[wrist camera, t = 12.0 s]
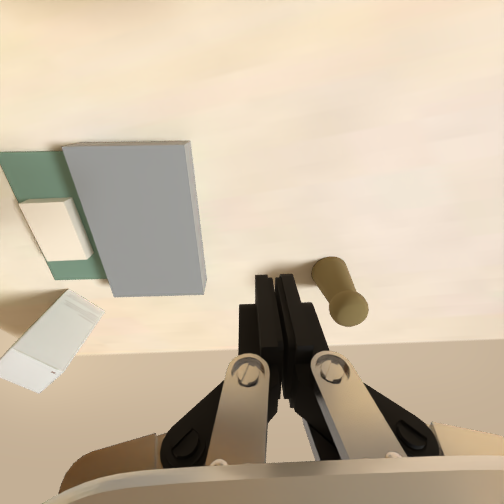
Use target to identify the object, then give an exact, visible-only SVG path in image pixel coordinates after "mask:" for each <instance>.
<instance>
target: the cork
mask: <svg viewBox="0 0 504 504" xmlns="http://www.w3.org/2000/svg"><path fill="white" fill-rule="evenodd" d="M311 274H312V278H313V280H314V281H315V283H316V284H317V286H318V287H319V289H320V290H321V292H322V293H323V295H324V296H325V298H326V299H327V301H328V302H329V311H330V315H331V317H332V318H333V320H334V321H335V322H336V323H338V324H340V325H342V326H346V327H351V326H355V325H358V324H360V323H361V322H363V321H364V320H365V318H366V317H367V314H368V311H369V310H368V303H367V302H366V300H365V298H364V297H363V296H362V295H361V294H359V293H358V292H356V289H355V287H354V284H353V282H352V279H351V276H350V274H349V271H348V269H347V266H346V264H345V262H344V261H343V260H342V259H340V258H337V257H326V258H323V259H321V260H320V261H318V262H317V263H316V264H315V265H314V267H313V269H312V273H311Z"/></svg>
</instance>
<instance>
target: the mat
mask: <svg viewBox="0 0 504 504" xmlns="http://www.w3.org/2000/svg"><path fill="white" fill-rule="evenodd" d="M0 165H1V167H2V169H3V171H4V173H5V175H6V177H7V179H8V182H9V184H10V186H11V188H12V190H13V192H14V194H15V196H16V198H17V201H18V203H21V202H24V201H26V200H28V199H44V198H67V197H72V198H73V201H74V203H75V206H76V208H77V211H78V213H79V216H80V219H81V221H82V224H83V226H84V229H85V231H86V234H87V236H88V239H89V242H90V244H91V247H92V249H93V252H94V253H93V254H92V255H91V256H90V257H89V258H88V259H87V260H66V261H47V260H46V258H45V256H44V258H45V260H46V262H47V264H48V266H49V268H50V270H51V272H52V274H53V277H54V279H55V280H76V279H107V276H106V273H105V270H104V267H103V264H102V261H101V259H100V256H99V253H98V250H97V247H96V244H95V241H94V238H93V236H92V233H91V230H90V227H89V224H88V221H87V218H86V216H85V213H84V210H83V207H82V204H81V201H80V198H79V196H78V193H77V190H76V187H75V184H74V181H73V178H72V176H71V173H70V170H69V167H68V164H67V161H66V158H65V156H64V153H63V151H37V152H0ZM35 239H36V238H35ZM36 241H37V240H36ZM37 243H38V242H37ZM38 245H39V244H38ZM39 247H40V246H39ZM40 249H41V248H40ZM41 251H42V250H41ZM42 253H43V252H42ZM43 255H44V254H43Z"/></svg>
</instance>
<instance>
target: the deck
mask: <svg viewBox="0 0 504 504" xmlns="http://www.w3.org/2000/svg"><path fill="white" fill-rule="evenodd" d="M62 150H63V153H64V156H65V158H66V161H67V164H68V167H69V170H70V173H71V176H72V178H73V181H74V184H75V187H76V190H77V193H78V196H79V198H80V201H81V204H82V207H83V210H84V213H85V216H86V218H87V221H88V224H89V227H90V230H91V233H92V236H93V238H94V241H95V244H96V247H97V250H98V253H99V256H100V259H101V261H102V264H103V267H104V270H105V273H106V276H107V279H108V281H109V284H110V287H111V290H112V293H113V296H114V297H140V296H175V295H204V291H205V286H206V281H207V278H206V269H205V261H204V252H203V244H202V235H201V227H200V218H199V210H198V201H197V193H196V184H195V176H194V167H193V159H192V151H191V142H190V141H151V142H81V143H76V144H71V145H67V146H62Z"/></svg>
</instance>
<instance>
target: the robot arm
mask: <svg viewBox="0 0 504 504" xmlns="http://www.w3.org/2000/svg"><path fill="white" fill-rule="evenodd" d="M281 382H282V389H283V396H284V399H289V402H290V408H294V410H295V412H296V413H297V414H299V415H300V416H301V417H302V419H303V425H304V427H305V430H306V433H307V437H308V439H309V442H310V446H311V449H312V452H313V454H314V458H315V461H308V462H307V461H306V462H284V463H266V445H267V428H268V422H269V421H270V420H271V419H272V418H273V416H274V415H275V414H276V413H277V407H278V399H280V394H281ZM42 504H504V437H502V436H500V435H497V434H492V433H487V432H482V431H477V430H472V429H467V428H461V427H457V426H451V425H446V424H441V423H436V422H431V424H425V423H424V422H423V421H421V420H420V419H419V418H418V417H416V416H415V415H413V414H412V413H410V412H408V411H407V410H405V409H404V408H402V407H401V406H399V405H397V404H396V403H394V402H393V401H391V400H390V399H388V398H387V397H385V396H383V395H382V394H380V393H379V392H377V391H376V390H374V389H373V388H371V387H370V386H368V385H366V384H365V383H363V382H362V380H361V378H360V377H359V375H358V373H357V372H356V370H355V368H354V367H353V365H352V364H351V363H350V361H349V360H348V359H347V358H346V357H344V356H343V355H341V354H339V353H337V352H333V351H329V348H328V345H327V342H326V340H325V337H324V334H323V331H322V328H321V326H320V323H319V320H318V317H317V314H316V312H315V309H314V306H313V304H312V303H311V302H307V303H301V300H300V297H299V294H298V290H297V287H296V284H295V280H294V277H293V274H280V277H279V278H275V291H274V285H273V279H272V278H268V275H255V304H239V353H238V356H237V357H235V358H234V359H233V360H232V361H231V362H230V363H229V365H228V368H227V371H226V375H225V380H224V381H222V382H221V383H220V384H219V385H218V386H217V387H216V388H215V389H214V390H213V391H212V392H210V393H209V394H208V395H207V396H206V397H205V398H204V399H202V400H201V401H200V402H199V403H198V404H197V405H196V406H195V407H194V408H193V409H192V410H190V411H189V412H188V413H187V414H186V415H185V416H184V417H183V418H181V419H180V420H179V421H178V422H177V423H176V424H175V425H174V426H173V427H172V428H171V429H170V430H169V431H168V432H167V433H164V434H161V435H158V436H157V435H156V433H154V434H150V435H147V436H143V437H140V438H136V439H133V440H130V441H126V442H123V443H119V444H116V445H113V446H109V447H106V448H102V449H99V450H95V451H92V452H90V453H88V454H86V455H83V456H82V457H81V458H79V459H78V460H77V461H76V462H75V463H73V465H72V466H71V467H70V469H69V470H68V471H67V473H66V474H65V476H64V479H63V481H62V483H61V486H60V490H59V493H58V495H56V496H54V497H53V498H51V499H49V500H47V501H45V502H44V503H42Z"/></svg>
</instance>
